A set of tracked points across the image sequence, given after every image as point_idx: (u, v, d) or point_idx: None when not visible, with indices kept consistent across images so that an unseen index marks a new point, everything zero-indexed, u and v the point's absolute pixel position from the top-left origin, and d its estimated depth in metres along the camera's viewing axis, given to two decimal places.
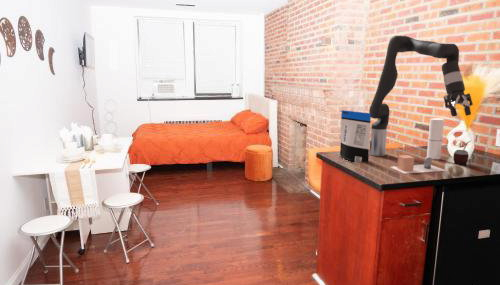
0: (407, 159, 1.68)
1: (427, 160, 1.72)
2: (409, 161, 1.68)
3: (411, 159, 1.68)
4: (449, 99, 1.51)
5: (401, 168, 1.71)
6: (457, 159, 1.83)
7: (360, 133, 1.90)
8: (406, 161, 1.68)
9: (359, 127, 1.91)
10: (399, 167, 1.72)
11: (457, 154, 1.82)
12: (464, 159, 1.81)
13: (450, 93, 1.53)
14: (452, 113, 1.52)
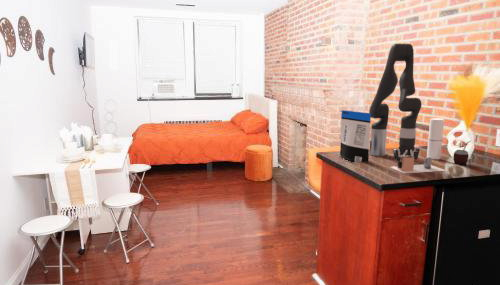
0: (407, 159, 1.68)
1: (427, 160, 1.72)
2: (409, 161, 1.68)
3: (411, 159, 1.68)
4: (397, 154, 1.68)
5: (401, 168, 1.71)
6: (457, 159, 1.83)
7: (360, 133, 1.90)
8: (406, 161, 1.68)
9: (359, 127, 1.91)
10: None
11: (457, 154, 1.82)
12: (464, 159, 1.81)
13: (400, 146, 1.69)
14: (398, 165, 1.71)
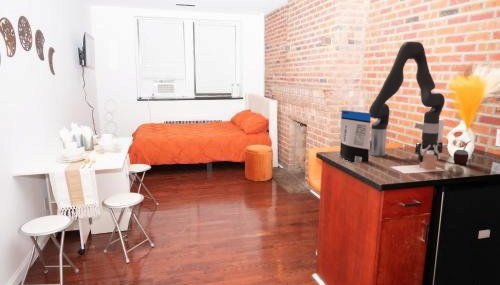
0: (430, 158, 1.70)
1: None
2: (432, 160, 1.70)
3: (434, 158, 1.70)
4: (419, 148, 1.70)
5: (424, 166, 1.72)
6: (457, 159, 1.83)
7: (360, 133, 1.90)
8: (429, 160, 1.70)
9: (359, 127, 1.91)
10: (421, 166, 1.74)
11: (457, 154, 1.82)
12: (464, 159, 1.81)
13: (423, 141, 1.71)
14: (419, 159, 1.72)
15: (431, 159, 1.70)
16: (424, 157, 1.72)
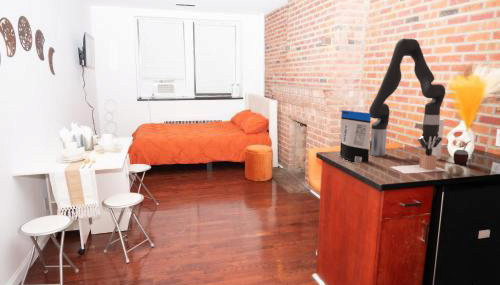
0: (430, 158, 1.70)
1: None
2: (432, 160, 1.70)
3: (434, 158, 1.70)
4: (423, 142, 1.69)
5: (424, 166, 1.72)
6: (457, 159, 1.83)
7: (360, 133, 1.90)
8: (429, 160, 1.70)
9: (359, 127, 1.91)
10: (421, 166, 1.74)
11: (457, 154, 1.82)
12: (464, 159, 1.81)
13: (424, 133, 1.70)
14: (426, 152, 1.72)
15: (431, 159, 1.70)
16: (424, 157, 1.72)
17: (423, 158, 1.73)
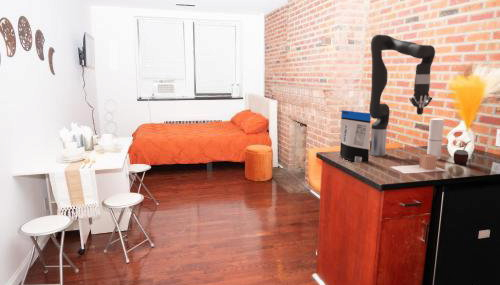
0: (430, 158, 1.70)
1: None
2: (432, 160, 1.70)
3: (434, 158, 1.70)
4: (414, 102, 1.77)
5: (424, 166, 1.72)
6: (457, 159, 1.83)
7: (360, 133, 1.90)
8: (429, 160, 1.70)
9: (359, 127, 1.91)
10: (421, 166, 1.74)
11: (457, 154, 1.82)
12: (464, 159, 1.81)
13: (415, 92, 1.77)
14: (417, 112, 1.80)
15: (431, 159, 1.70)
16: (424, 157, 1.72)
17: (423, 158, 1.73)
